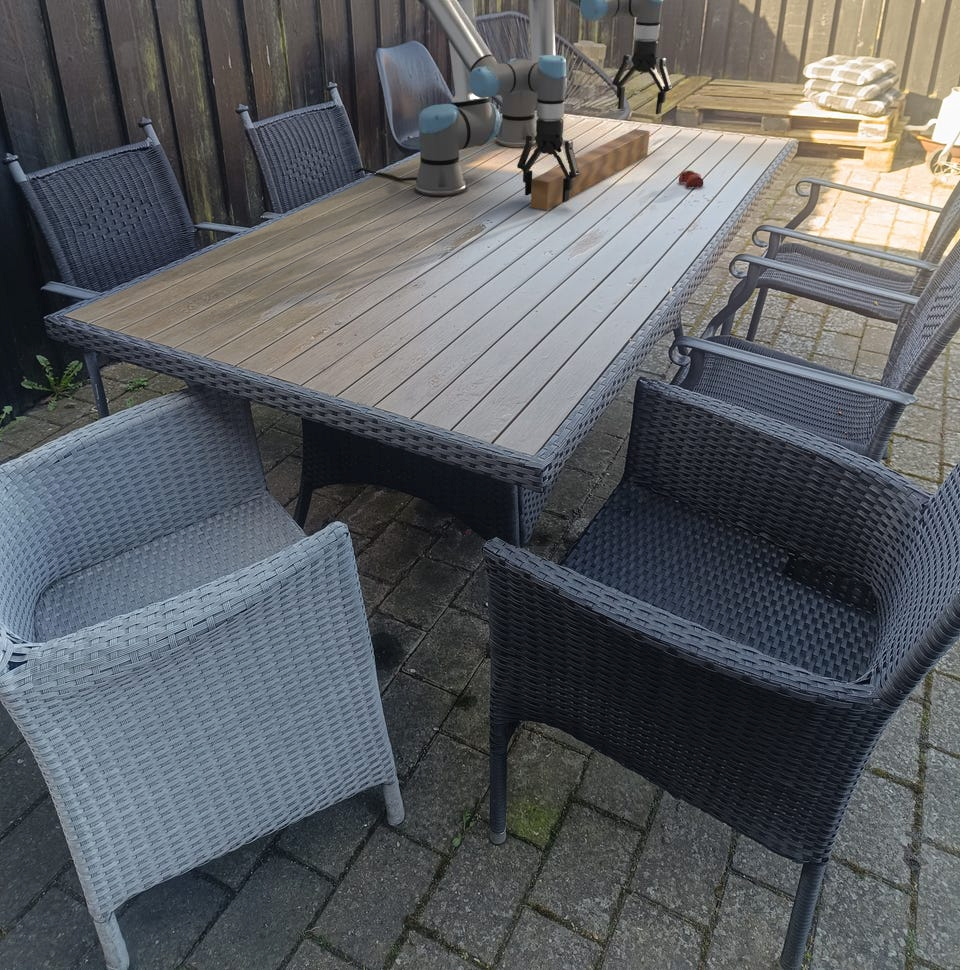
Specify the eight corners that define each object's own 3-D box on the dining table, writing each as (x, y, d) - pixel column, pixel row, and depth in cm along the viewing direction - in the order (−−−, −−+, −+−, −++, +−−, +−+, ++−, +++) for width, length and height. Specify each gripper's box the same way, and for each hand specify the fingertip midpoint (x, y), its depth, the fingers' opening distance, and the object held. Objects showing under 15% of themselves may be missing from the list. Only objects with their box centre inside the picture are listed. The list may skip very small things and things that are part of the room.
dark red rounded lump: (694, 166, 263) (706, 173, 257) (693, 180, 266) (704, 187, 260) (677, 168, 262) (689, 175, 256) (676, 182, 265) (687, 189, 259)
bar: (546, 210, 242) (548, 182, 238) (530, 207, 245) (531, 179, 240) (647, 155, 291) (649, 131, 286) (632, 153, 293) (635, 128, 289)
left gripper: (595, 120, 230) (589, 201, 243) (519, 110, 241) (517, 188, 253) (582, 126, 225) (577, 207, 237) (505, 115, 235) (504, 194, 248)
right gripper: (688, 41, 265) (678, 113, 277) (615, 35, 276) (610, 104, 288) (678, 44, 260) (669, 117, 272) (605, 37, 271) (600, 108, 283)
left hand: (546, 197), depth 245 cm, fingers open, 12 cm apart
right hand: (639, 111), depth 280 cm, fingers open, 13 cm apart
